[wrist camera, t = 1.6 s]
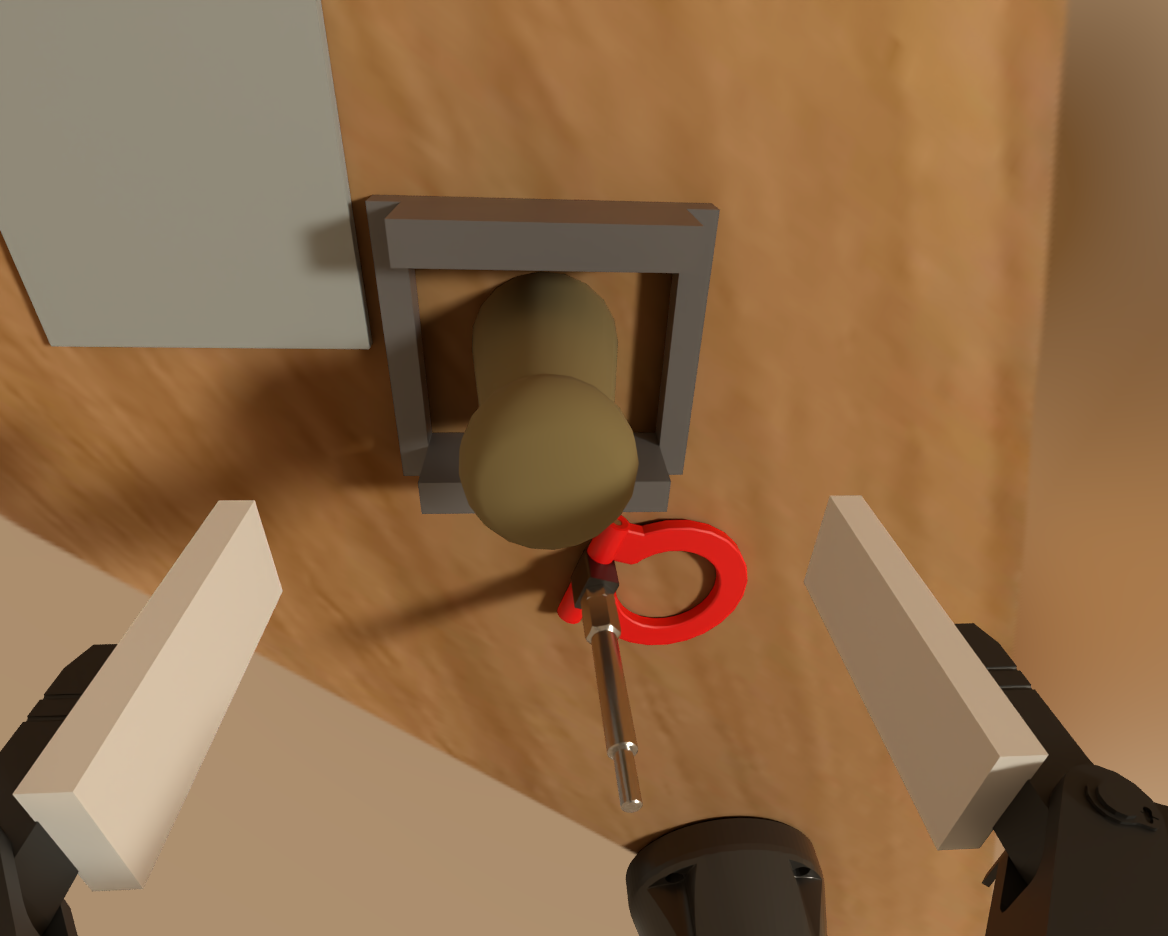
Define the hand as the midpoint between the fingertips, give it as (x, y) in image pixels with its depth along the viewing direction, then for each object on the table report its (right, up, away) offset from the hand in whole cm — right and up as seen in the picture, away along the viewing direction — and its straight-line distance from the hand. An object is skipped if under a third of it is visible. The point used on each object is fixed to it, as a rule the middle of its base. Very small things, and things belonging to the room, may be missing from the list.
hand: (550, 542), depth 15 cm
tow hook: (+5, -4, +19) cm, 20 cm away
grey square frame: (-1, +7, +11) cm, 13 cm away
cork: (-1, +7, +12) cm, 14 cm away
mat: (-14, +12, +7) cm, 19 cm away
